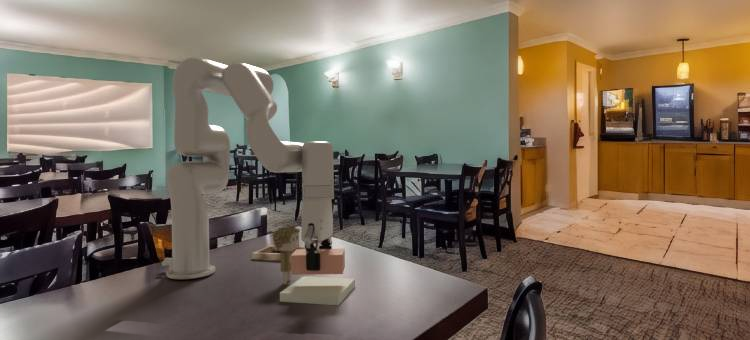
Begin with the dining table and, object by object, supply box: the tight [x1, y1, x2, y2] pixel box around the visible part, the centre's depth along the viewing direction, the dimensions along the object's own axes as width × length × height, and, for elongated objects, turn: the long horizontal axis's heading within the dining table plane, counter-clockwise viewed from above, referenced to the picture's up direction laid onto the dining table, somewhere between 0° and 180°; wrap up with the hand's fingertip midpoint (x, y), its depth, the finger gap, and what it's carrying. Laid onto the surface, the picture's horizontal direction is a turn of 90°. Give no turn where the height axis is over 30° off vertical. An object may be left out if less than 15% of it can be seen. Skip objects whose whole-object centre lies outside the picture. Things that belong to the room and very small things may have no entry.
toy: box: [272, 225, 301, 285], centre depth 110 cm, size 7×7×15 cm
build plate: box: [279, 275, 356, 306], centre depth 99 cm, size 14×14×2 cm
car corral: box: [252, 245, 306, 262], centre depth 133 cm, size 20×12×4 cm, turn 78°
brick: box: [291, 248, 346, 276], centre depth 99 cm, size 12×7×4 cm, turn 90°
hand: (319, 265), depth 99 cm, fingers closed on brick, 7 cm apart
